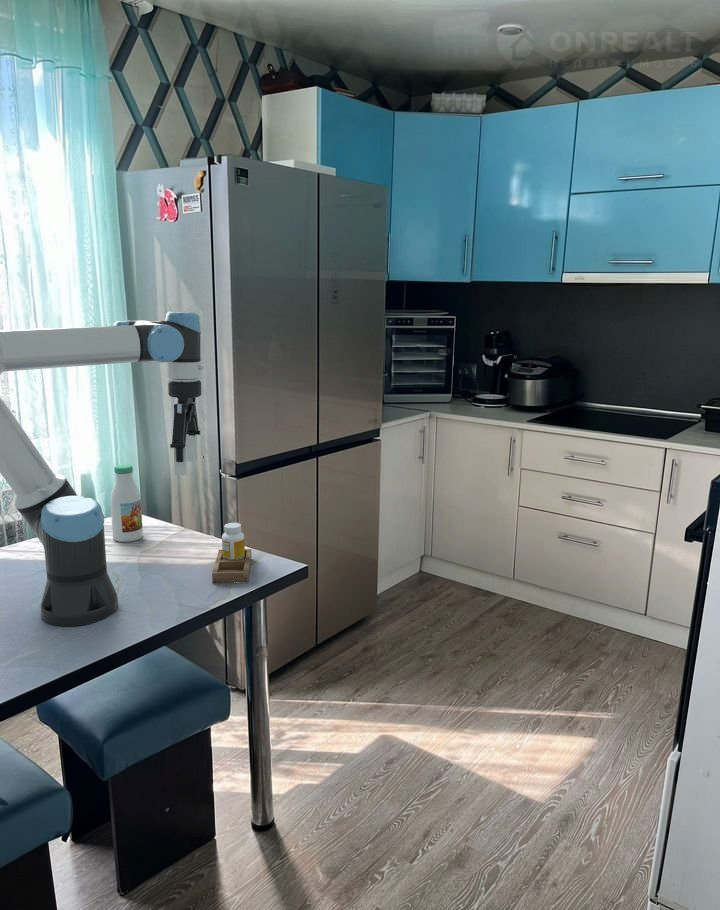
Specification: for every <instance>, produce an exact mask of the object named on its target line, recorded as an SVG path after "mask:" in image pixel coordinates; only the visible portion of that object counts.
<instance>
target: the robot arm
mask: <svg viewBox="0 0 720 910" xmlns="http://www.w3.org/2000/svg"><path fill="white" fill-rule="evenodd" d="M201 335H202V329H201V321H200V316H199V315H198V314H197V313H196V312H189V311H168V312H167V313H166V317H165V320H130V319H128V320H118V321H116V322H114V323H113V325H107V326H106V325H105V326H82V327H80V326H79V327H56V328H55V327H53V328H31V329H28V328H26V329H8V330H6V329H5V330H0V376H1V374H3V373H5V372H14V371H15V372H16V371H26V370H27V371H31V370H42V369H44V370H45V369H57V368H70V367H82V366H83V367H84V366H98V365H109V364H110V365H112V364H124V363H138V362H139V363H145V362H159V363H167V378H168V379H169V380H168V382H167V387H168V388H167V389H168V391H167V392H168V396H170V397H171V398H176V399H177V403H174V404H173V423H172V424H173V425H172V439H171V443H170V444H169V445H170V446H169V447H170V449H173V459H174V460H173V461H174V476H186V477H187V475H188V462H190V463H191V462H196V463H197V462H198V436H200V435H201V430H200V429H199V422H198V413H197V405H196V404H197V401H196V399H197V398H199V397H201V396H202V381H201V380H200V379H201V378H202V373H201V371H202V370H204V365H202V364H201V361H202V360H201V359H202V358H201V352H202V351H201V348H202V347H201V346H202V345H201V342H202V341H201V340H202V338H201V337H202V336H201ZM0 475H1V477H3V479H4V481H5V482H6V484H7V485H8V486H9V487H10V488H11V490H12V491H13V492H14V494H15V495H16V497H15V501H14V507H15V508H16V509H17V511H18V512H19V513H20V514H19V515H21V516H22V517H23V519H24V520H25V522H26V523H27V524H28V527H29V529H30V530H31V531H32V533H34V534H35V535H36V537H37V538H38V540H39V541H40V543H41V544H42V547H43V550H44V559H45V568H46V569H45V570H46V583H45V587H44V591H43V594H42V598H41V603H40V617H41V619H42V620H43V621H44V622H45V623H47V624H50V625H53V626H57V627H59V626H60V627H75V626H76V627H77V626H78V627H79V626H83V625H84V626H85V625H88V624H89V625H90V624H93V623H96V622H99V621H102V620H105V619H106V618H108V617H110V616H111V615H113V614H114V613H115V612H116V611H117V609H118V608H119V601H118V599H119V598H118V594H117V591H116V588H115V587H114V585H113V582H112V580H111V577H110V576H109V574H108V568H107V566H108V565H107V553H106V540H105V538H106V537H105V525H104V524H105V516H104V514H103V508H102V506H101V504H100V503H99V502H98V501H97V500H95V499H94V498H91V497H85V496H82V495H78V494H77V492H76V490H75V489H74V488H73V487H72V485H71V484H70V482H69V481H68V479H67V478H66V477H65V475H64V474H59V473H54V472H53V470H52V468H50V466H49V464H48V463H47V462H46V460H45V459H44V457H43V456H42V454H41V453H40V452H39V450H38V449H37V447H36V446H35V444H34V443H33V442H32V440H31V439H30V437H29V435H28V433H26V431H25V430H24V428H23V427H22V425H21V423H19V421H18V419H17V418H16V417H15V415H14V414H13V412H12V411H11V409H10V408H9V407H8V405H7V404H6V403H5V401H4V400H3V398H2V396H1V395H0Z"/></svg>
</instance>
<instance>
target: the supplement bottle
mask: <svg viewBox="0 0 720 910" xmlns="http://www.w3.org/2000/svg"><path fill="white" fill-rule="evenodd" d="M223 528H224V530H223V531H224V533H222V536H221V547H222V549H221V550H222V553H223V560H238V559H245V549H246V548H245V545H246V544H245V534H244V533H243V532H242V525H241V523H239V522H229V523H228V522H227V523H225V524H224V526H223Z"/></svg>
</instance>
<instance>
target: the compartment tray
mask: <svg viewBox="0 0 720 910" xmlns="http://www.w3.org/2000/svg"><path fill="white" fill-rule="evenodd" d="M251 558H253V557H252V549H251V548H245V559H238V560H223V553H222V549H218V552H217V555H216V560H215V563H214V566H213V569H212V573H211V579H212V580H211V582H212V584H213V585H214V584H215V585H216V584H237V583H236V582H249V577H250V576H249V575H250V571H249V570H251V565H250V564H251V563H252V559H251ZM248 576H249V577H248ZM234 582H235V583H234Z"/></svg>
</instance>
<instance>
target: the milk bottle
mask: <svg viewBox="0 0 720 910" xmlns="http://www.w3.org/2000/svg"><path fill="white" fill-rule="evenodd" d="M113 470H114V475H115V480H114V484H113V487H112V489H111V493H110V517H111V530H112V531H111V533H112V538H113V540H114V541H116V542H118V543H119V542H120V543H130V542H135V541H139V540H140V539H141V538H142V537H143V535H144V533H143V532H144V531H143V530H144V529H143V517H142V515H143V514H142V512H143V511H142V502H141V499H142V498H141V494H140V490H139V488H138V486H137V484H136V483H135V482H136V481H134V478H133V474H134V467H133V465H132V464H127V463H126V464H125V463H123V464H118V465H115V466H114V469H113Z"/></svg>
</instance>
